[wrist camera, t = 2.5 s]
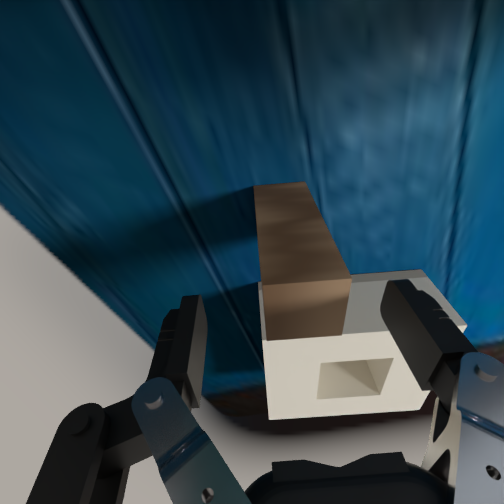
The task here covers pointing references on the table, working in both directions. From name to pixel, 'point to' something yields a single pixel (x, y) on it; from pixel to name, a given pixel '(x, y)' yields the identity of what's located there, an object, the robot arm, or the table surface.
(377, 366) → the socket block
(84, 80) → the table surface
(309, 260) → the peg
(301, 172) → the table surface
